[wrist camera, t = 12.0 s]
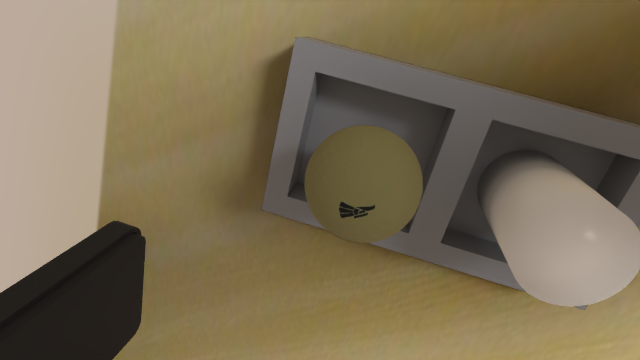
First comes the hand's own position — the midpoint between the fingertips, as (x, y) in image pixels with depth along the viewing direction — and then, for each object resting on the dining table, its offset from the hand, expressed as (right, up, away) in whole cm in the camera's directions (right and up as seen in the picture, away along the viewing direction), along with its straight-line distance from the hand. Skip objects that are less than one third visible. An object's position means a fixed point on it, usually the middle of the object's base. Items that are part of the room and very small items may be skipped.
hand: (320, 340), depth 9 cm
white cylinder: (+13, +3, +15) cm, 20 cm away
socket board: (+8, +5, +16) cm, 19 cm away
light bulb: (+3, +6, +16) cm, 18 cm away
